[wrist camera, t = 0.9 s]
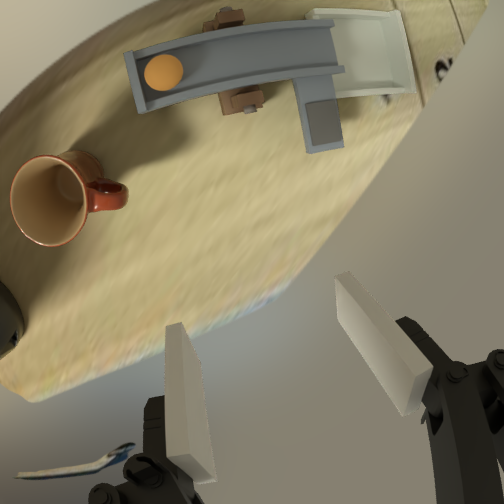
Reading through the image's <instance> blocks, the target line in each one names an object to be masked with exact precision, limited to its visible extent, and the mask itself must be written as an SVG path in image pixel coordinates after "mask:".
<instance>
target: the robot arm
mask: <svg viewBox="0 0 504 504" xmlns="http://www.w3.org/2000/svg"><path fill="white" fill-rule="evenodd" d="M335 287H336V301H337V318H338V321H339V323H340V324H341V325H342V327H343V328H344V330H345V331H346V333H347V334H348V336H349V337H350V339H351V340H352V342H353V343H354V344H355V346H356V348H357V349H358V350H359V352H360V353H361V355H362V356H363V358H364V359H365V361H366V362H367V364H368V365H369V367H370V368H371V370H372V371H373V373H374V374H375V376H376V377H377V379H378V381H379V382H380V384H381V385H382V386H383V388H384V390H385V391H386V393H387V394H388V396H389V397H390V399H391V400H392V402H393V403H394V405H395V407H396V408H397V410H398V411H399V413H400V414H401V416H402V417H405V416H407V415H408V414H410V413H412V412H414V411H416V410H418V409H419V407H420V404H421V401H422V402H423V404H424V405H425V407H426V409H425V412H424V414H423V416H422V419H421V424H423V423H424V421H425V419H426V423H427V429H428V435H429V441H430V447H431V454H432V462H433V470H434V478H435V488H436V499H437V504H504V497H503V490H502V484H501V478H500V472H499V467H498V462H497V459H498V461H499V463H500V465H501V467H502V469H503V471H504V350H503V349H497V350H493V351H492V352H491V353H489V355H488V357H487V360H486V361H483V362H479V363H475V364H471V365H466V364H464V363H462V362H459V361H452V360H451V359H450V358H449V357H448V356H447V355H446V354H445V353H444V351H443V350H442V349H441V348H440V347H439V346H438V345H437V344H436V343H435V342H434V341H433V339H432V338H431V337H429V335H428V334H427V333H426V332H425V331H423V328H422V327H421V326H420V325H419V324H418V323H417V322H416V321H414V320H412V319H410V318H408V317H406V316H405V317H403V318H401V319H399V320H396V321H394V320H393V319H392V318H391V316H390V315H389V314H388V313H387V312H386V311H385V310H384V309H383V307H382V306H381V305H380V304H379V303H378V302H377V301H376V300H375V299H374V298H373V297H372V296H371V294H370V293H369V292H368V291H367V290H366V289H365V288H364V287H363V286H362V284H361V283H360V282H359V281H358V280H357V279H356V278H355V277H354V276H353V275H352V274H351V273H350V272H349V271H348V272H345V273H342V274H340V275H337V276H335ZM23 331H24V322H23V317H22V313H21V311H20V308H19V306H18V304H17V302H16V300H15V299H14V297H13V296H12V294H11V293H10V292H9V290H8V289H7V288H6V287H5V286H4V285H3V284H2V283H1V282H0V360H1V359H2V358H3V357H4V356H6V355H7V354H8V353H9V352H11V351H12V350H13V349H14V348H15V347H16V346H17V344H18V343H19V341H20V339H21V337H22V335H23ZM143 429H144V432H143V453H139V454H135V455H133V456H132V457H130V458H129V459H128V460H127V462H126V463H125V465H124V468H123V475H124V478H125V479H127V480H128V482H126V483H123V484H120V485H117V486H115V487H114V486H112V485H110V484H108V483H101V484H98V485H96V486H94V488H92V489H91V491H90V493H89V499H88V502H89V504H204V502H203V501H202V499H201V498H200V496H199V494H198V493H197V492H196V491H195V490H194V485H193V481H194V482H196V483H197V484H204V483H210V482H215V481H217V476H216V470H215V464H214V458H213V452H212V446H211V439H210V432H209V426H208V418H207V411H206V404H205V396H204V388H203V380H202V371H201V362H200V360H199V359H198V356H197V354H196V352H195V350H194V348H193V346H192V344H191V341H190V339H189V337H188V335H187V333H186V331H185V329H184V326H183V324H182V322H180V323H176V324H172V325H169V326H166V336H165V395H163V396H158V397H153V398H149V399H148V401H147V404H146V406H145V408H144V425H143Z"/></svg>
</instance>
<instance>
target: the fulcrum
mask: <svg viewBox="0 0 504 504" xmlns="http://www.w3.org/2000/svg"><path fill="white" fill-rule="evenodd" d="M244 20H245V17H244V13H243V10H242V9H238V10H232V7H224V8H221V9H220V12H219V13H216V16H215V20H214V21H209V22H204V25H203V33H205V32H210V31H215V30H220V29H225V28H231V27H237V26H244V25H243V22H244ZM218 96H219V100H220V104H221V108H222V112H223V115H230V114H234V113H239V112H243V111H244V113H245V114H248V113H253V112H257V110H256V109H257V108H263V105H262V102H265V101H264V96H263V92H262V90H259V87H258V85H253V86H247V87H242V88H237V89H233V90H228V91H223V92H219V93H218Z"/></svg>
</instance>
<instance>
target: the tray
mask: <svg viewBox="0 0 504 504" xmlns="http://www.w3.org/2000/svg"><path fill="white" fill-rule="evenodd" d="M305 19H306V20H312V19H333V20H334V24H335V26H334V27H332V28H330V31H331V35H332V39H333V43H334V48H335V52H336V56H337V61H338V66H339V65H344V67H345V72H346V73H340V74H334V75H332V78H333V83H334V89H335V94H336V99H337V98H346V97H356V96H367V95H381V94H399V93H417V91H416V84H415V78H414V72H413V66H412V61H411V56H410V51H409V46H408V42H407V37H406V33H405V29H404V25H403V21H402V17H401V13H400V10H393V11H390V12H384V11H374V10H361V9H342V8H313V9H312V10H310V11H309V12H308V13H306V14H305Z"/></svg>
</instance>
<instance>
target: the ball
mask: <svg viewBox="0 0 504 504" xmlns="http://www.w3.org/2000/svg"><path fill="white" fill-rule="evenodd" d="M182 76H183V66H182V64H181V62H180V61H179V60H178V59H177V58H176V57H174V56H172V55H159V56H156V57H154V58H153V59H152V60H150V62H149V63H148V64H147V66H146V68H145V72H144V77H145V80H146V82H147V84H148V85H149V86H150V87H151V88H153V89H155V90H159V91H166V90H169V89H172V88H174V87H175V86H176V85H177V84H178V83H179V82H180V80H181V78H182Z"/></svg>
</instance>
